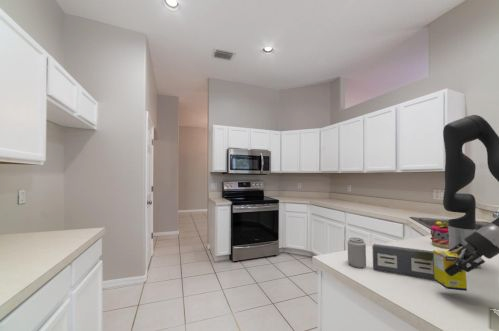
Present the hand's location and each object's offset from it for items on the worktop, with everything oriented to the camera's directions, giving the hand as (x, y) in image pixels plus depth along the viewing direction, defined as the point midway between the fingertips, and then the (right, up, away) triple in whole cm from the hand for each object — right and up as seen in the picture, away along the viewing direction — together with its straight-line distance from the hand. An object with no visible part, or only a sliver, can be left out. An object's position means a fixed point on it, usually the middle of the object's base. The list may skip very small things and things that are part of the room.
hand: (443, 268), depth 72 cm
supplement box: (+1, -6, -1) cm, 6 cm away
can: (-18, -10, +23) cm, 31 cm away
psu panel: (-3, -10, +15) cm, 18 cm away
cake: (+47, -12, +49) cm, 69 cm away
